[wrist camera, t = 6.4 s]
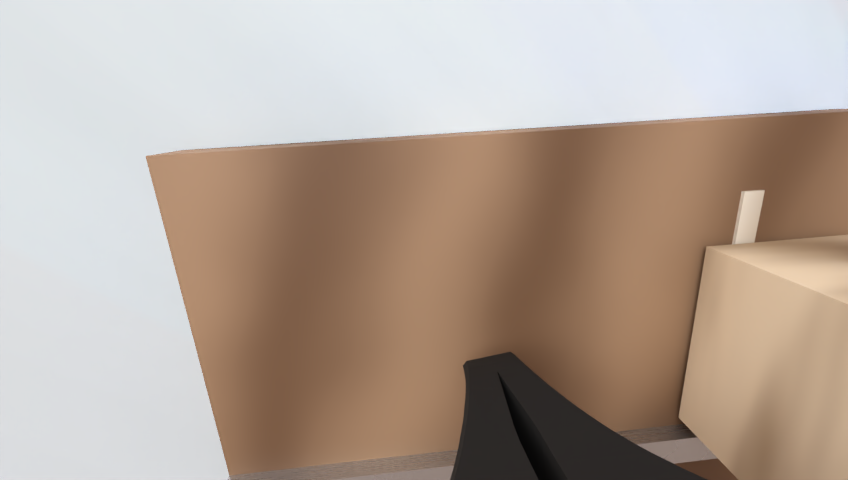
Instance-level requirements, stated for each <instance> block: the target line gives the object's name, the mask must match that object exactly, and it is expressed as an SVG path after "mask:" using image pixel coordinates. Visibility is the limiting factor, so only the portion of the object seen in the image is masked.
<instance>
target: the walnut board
mask: <svg viewBox="0 0 848 480" xmlns="http://www.w3.org/2000/svg"><path fill="white" fill-rule="evenodd" d="M146 159H147V163H148V167H149V171H150V174H151V178H152V182H153V186H154V190H155V194H156V197H157V201H158V205H159V209H160V213H161V216H162V220H163V224H164V228H165V232H166V235H167V239H168V243H169V247H170V251H171V254H172V258H173V262H174V266H175V270H176V274H177V277H178V281H179V285H180V289H181V293H182V296H183V300H184V304H185V308H186V312H187V315H188V319H189V323H190V327H191V331H192V335H193V338H194V342H195V346H196V350H197V354H198V357H199V361H200V365H201V369H202V373H203V376H204V380H205V384H206V388H207V392H208V395H209V399H210V403H211V407H212V411H213V415H214V418H215V422H216V426H217V430H218V434H219V437H220V441H221V445H222V449H223V453H224V456H225V460H226V464H227V468H228V472H229V475H238V474H246V473H255V472H264V471H273V470H282V469H291V468H299V467H308V466H317V465H326V464H335V463H344V462H352V461H361V460H370V459H379V458H388V457H397V456H405V455H414V454H423V453H432V452H441V451H450V450H458V446H459V441H460V435H461V429H462V424H463V417H464V406H465V394H466V380H465V374H464V369H463V365H464V363H465V362H466V361H469V360H473V359H478V358H483V357H488V356H492V355H497V354H502V353H506V352H512V353H513V354H515V355H516V356H517V357H518V358H519V359H520V360H521V361H522V362H523V363H524V364H525V365H527V366H528V367H529V368H530V369H531V370H532V371H533V372H534V373H536V374H537V375H538V376H539V377H540V378H541V379H543V380H544V381H545V382H546V383H547V384H549V385H550V386H551V387H552V388H554V389H555V390H556V391H558V392H559V393H560V394H561V395H563V396H564V397H565V398H566V399H568V400H569V401H570V402H572V403H573V404H574V405H576V406H577V407H579V408H580V409H581V410H583V411H584V412H586V413H587V414H589V415H590V416H591V417H593V418H594V419H596V420H597V421H599V422H600V423H602V424H603V425H605V426H606V427H608V428H610V429H611V430H613V431H614V432H617V431H626V430H635V429H644V428H653V427H662V426H670V425H679V424H684V423H683V422H682V421H681V420H680V419H679V418H678V417H679V411H680V405H681V399H682V393H683V386H684V380H685V374H686V368H687V362H688V356H689V350H690V344H691V338H692V332H693V326H694V319H695V313H696V307H697V301H698V295H699V289H700V283H701V277H702V271H703V265H704V258H705V252H706V247H707V246H719V245H731V244H743V243H755V242H767V241H779V240H790V239H802V238H814V237H826V236H838V235H848V109H829V110H813V111H797V112H782V113H766V114H750V115H734V116H718V117H702V118H686V119H671V120H655V121H639V122H623V123H607V124H591V125H576V126H560V127H544V128H528V129H512V130H496V131H481V132H465V133H449V134H433V135H417V136H401V137H385V138H370V139H354V140H338V141H322V142H306V143H290V144H275V145H259V146H243V147H227V148H211V149H195V150H181V151H175V152H169V153H163V154H156V155H150V156H146ZM675 465H677V466H679V467H681V468H683V469H685V470H688V471H690V472H692V473H694V474H696V475H699V476H701V477H703V478H705V479H707V480H738V479H737V478H736V477H735V476H734V475H733V474H732V473H731V472H730V471H729V470H728V468H727V467H726V466H725V465H724V464H723V463H722V462H721V461H720V460H719V459H718V458H717V459H708V460H700V461H692V462H683V463H675Z"/></svg>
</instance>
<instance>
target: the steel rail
mask: <svg viewBox="0 0 848 480" xmlns="http://www.w3.org/2000/svg"><path fill="white" fill-rule="evenodd" d="M616 433H618V434H619V435H621V436H623V437H625V438H626V439H628V440H630V441H631V442H633V443H635V444H637V445H638V446H640V447H642V448H644V449H646V450H648V451H649V452H651V453H653V454H655V455H657V456H659V457H661V458H663V459H665V460H667V461H669V462H671V463H673V464H675V463H683V462H692V461H700V460H708V459H717V457H716V456H715V455H714V454H713V453H712V452H711V451H710V450H709V449H708V448H707V447H706V446H705V445H704V444H703V443H702V441H701V440H700V439H699V438H698V437H697V436H696V435H695V434H694V433H693V432H692V431H691V430H690V429H689V428H688V427H687V426H686V425H685V424H679V425H670V426H662V427H653V428H644V429H635V430H626V431H617V432H616ZM457 451H458V450H450V451H441V452H432V453H423V454H414V455H405V456H397V457H388V458H379V459H370V460H361V461H352V462H344V463H335V464H326V465H317V466H308V467H299V468H291V469H282V470H273V471H264V472H255V473H246V474H238V475H229V478H228V480H450V479H451V475H452V471H453V467H454V464H455V460H456V455H457Z"/></svg>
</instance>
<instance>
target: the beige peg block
mask: <svg viewBox="0 0 848 480" xmlns="http://www.w3.org/2000/svg"><path fill="white" fill-rule="evenodd" d="M678 418H679V419H680V420H681V421H682V422H683V423H684V424H685V425H686V426H687V427H688V428H689V429H690V430H691V431H692V432H693V433H694V434H695V435H696V436H697V437H698V438H699V439H700V440H701V441H702V443H703V444H704V445H705V446H706V447H707V448H708V449H709V450H710V451H711V452H712V453H713V454H714V455H715V456H716V457H717V458H718V459H719V460H720V461H721V462H722V463H723V464H724V465H725V466H726V467H727V468H728V470H729V471H730V472H731V473H732V474H733V475H734V476H735V477H736V478H737V479H738V480H848V235H838V236H826V237H814V238H802V239H790V240H779V241H767V242H755V243H743V244H731V245H719V246H707V247H706V252H705V258H704V265H703V271H702V277H701V283H700V289H699V295H698V301H697V307H696V313H695V319H694V326H693V332H692V338H691V344H690V350H689V356H688V362H687V368H686V374H685V380H684V386H683V393H682V399H681V405H680V411H679V417H678Z"/></svg>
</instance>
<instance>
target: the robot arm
mask: <svg viewBox="0 0 848 480" xmlns="http://www.w3.org/2000/svg"><path fill="white" fill-rule="evenodd" d="M463 369H464V374H465V380H466V394H465V406H464V417H463V424H462V429H461V435H460V441H459V446H458V451H457V455H456V460H455V464H454V467H453V471H452V475H451V479H450V480H707V479H705V478H703V477H701V476H699V475H696V474H694V473H692V472H690V471H688V470H685V469H683V468H681V467H679V466H677V465H675V464H673V463H671V462H669V461H667V460H665V459H663V458H661V457H659V456H657V455H655V454H653V453H651V452H649V451H648V450H646V449H644V448H642V447H640V446H638V445H637V444H635V443H633V442H631V441H630V440H628V439H626V438H625V437H623V436H621V435H619V434H618V433H616V432H614V431H613V430H611V429H610V428H608V427H606V426H605V425H603V424H602V423H600V422H599V421H597V420H596V419H594V418H593V417H591V416H590V415H589V414H587V413H586V412H584V411H583V410H581V409H580V408H579V407H577V406H576V405H574V404H573V403H572V402H570V401H569V400H568V399H566V398H565V397H564V396H563V395H561V394H560V393H559V392H558V391H556V390H555V389H554V388H552V387H551V386H550V385H549V384H547V383H546V382H545V381H544V380H543V379H541V378H540V377H539V376H538V375H537V374H536V373H534V372H533V371H532V370H531V369H530V368H529V367H528V366H527V365H525V364H524V363H523V362H522V361H521V360H520V359H519V358H518V357H517V356H516V355H515V354H513V353H512V352H506V353H502V354H497V355H492V356H488V357H483V358H478V359H473V360H469V361H466V362H465V363H464V365H463Z"/></svg>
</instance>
